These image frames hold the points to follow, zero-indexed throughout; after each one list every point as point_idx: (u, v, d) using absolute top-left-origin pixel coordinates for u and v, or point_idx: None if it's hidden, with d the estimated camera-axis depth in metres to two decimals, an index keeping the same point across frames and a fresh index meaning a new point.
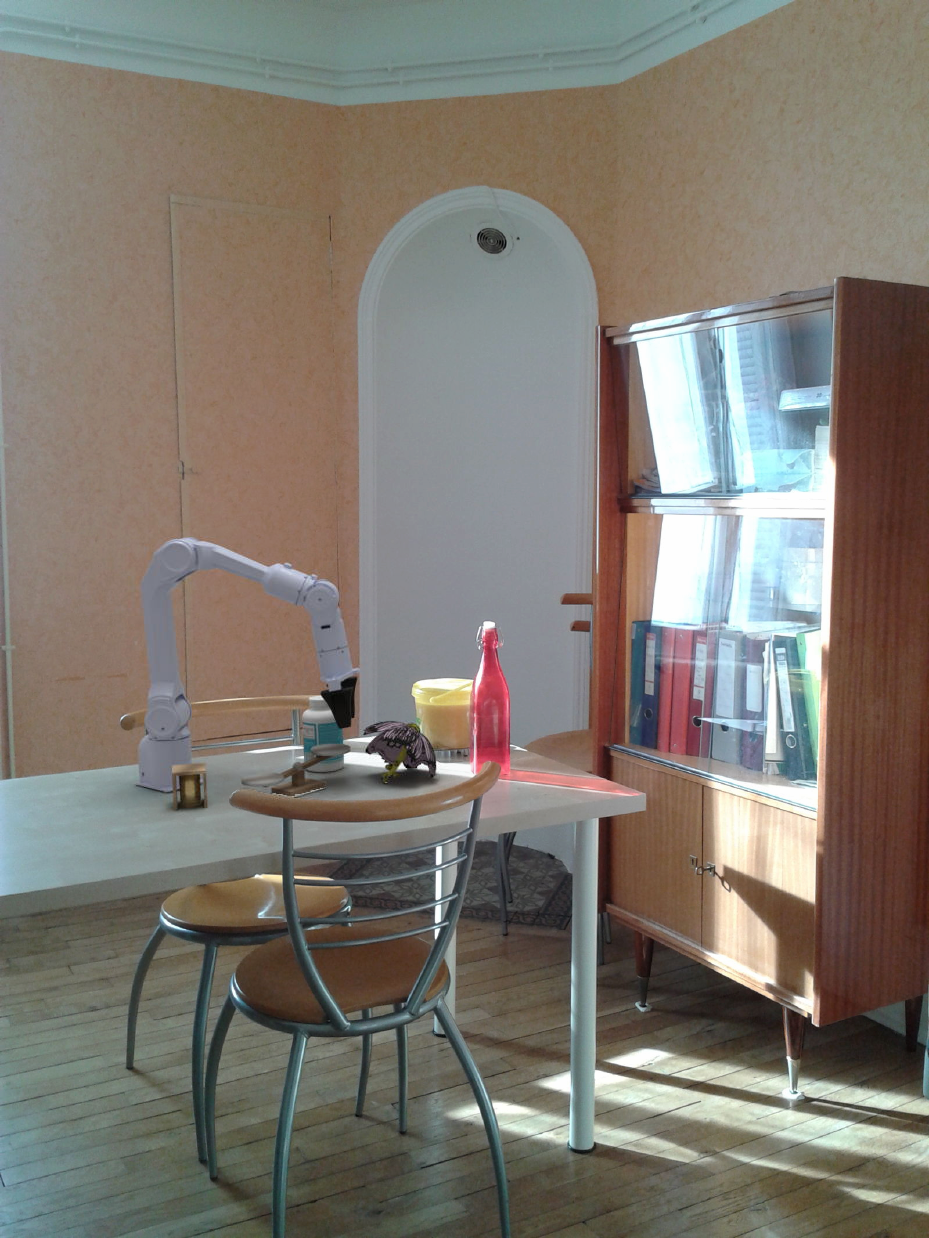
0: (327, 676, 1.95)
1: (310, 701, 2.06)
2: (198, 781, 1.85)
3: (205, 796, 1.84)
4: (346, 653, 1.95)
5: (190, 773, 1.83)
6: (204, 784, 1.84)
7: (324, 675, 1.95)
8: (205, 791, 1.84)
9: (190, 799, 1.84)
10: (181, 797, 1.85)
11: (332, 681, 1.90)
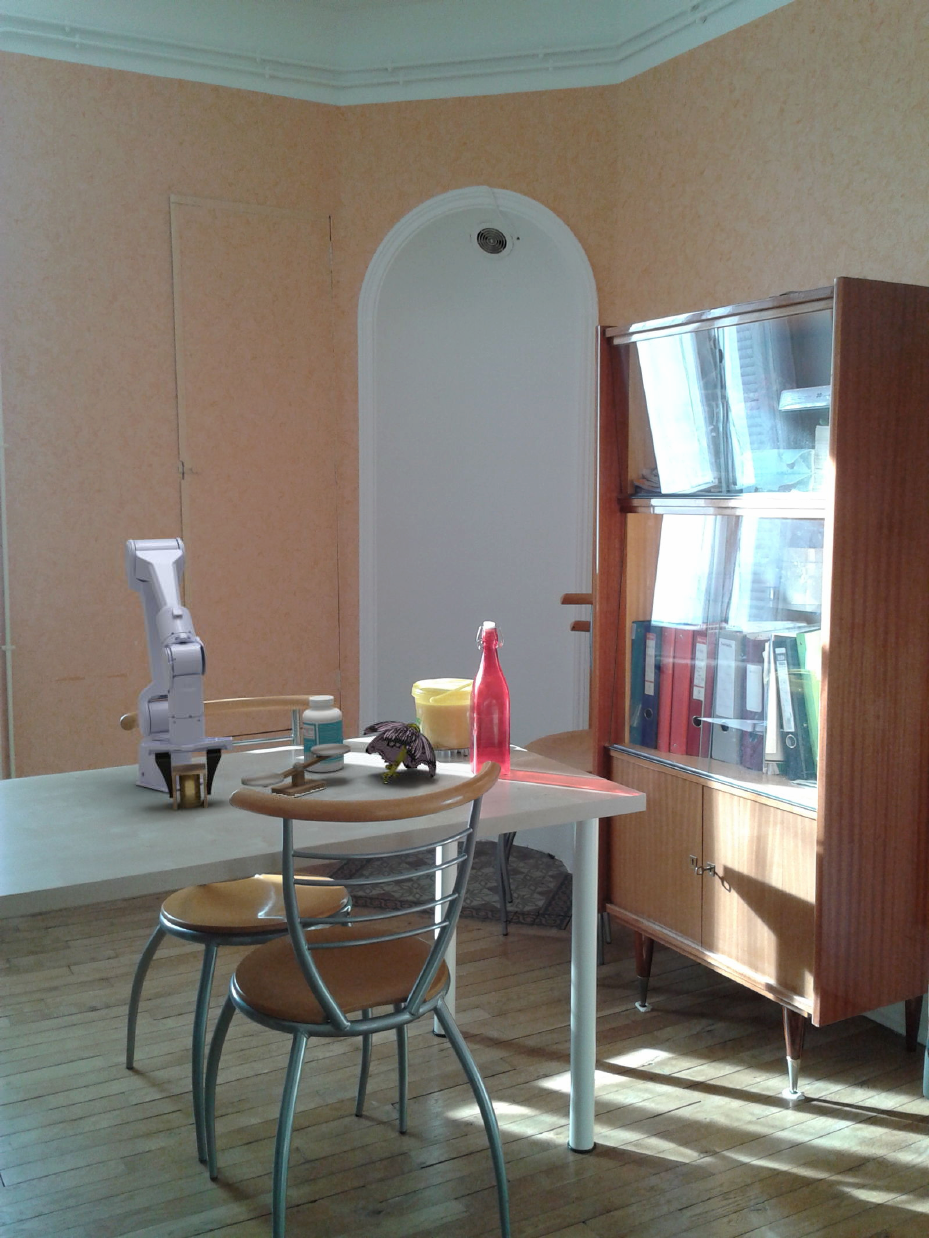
0: None
1: (310, 701, 2.06)
2: (198, 781, 1.85)
3: (205, 796, 1.84)
4: (177, 724, 1.82)
5: (190, 773, 1.83)
6: (204, 784, 1.84)
7: None
8: (205, 791, 1.84)
9: (190, 799, 1.84)
10: (181, 797, 1.85)
11: (142, 745, 1.83)
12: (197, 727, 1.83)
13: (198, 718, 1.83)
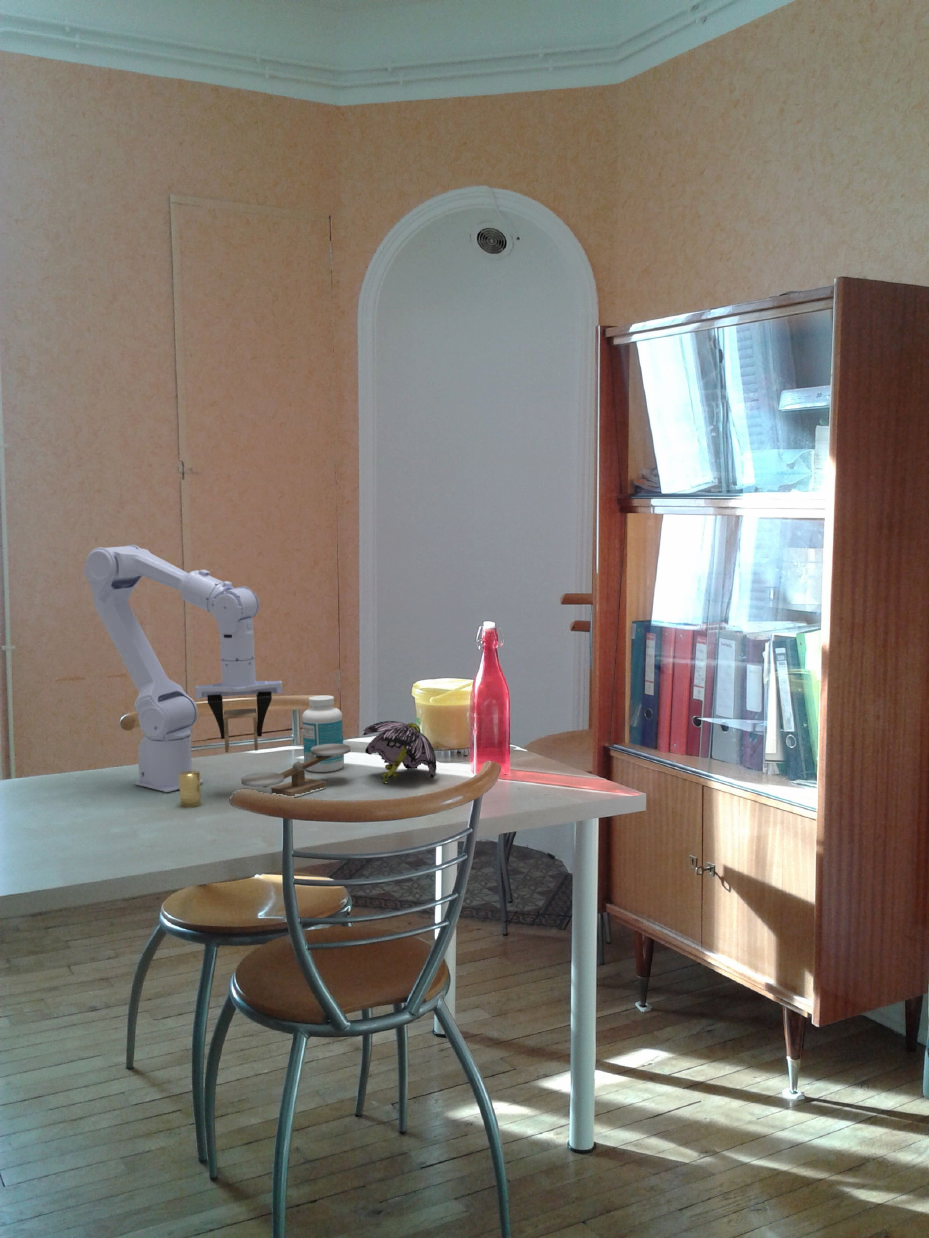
0: None
1: (310, 701, 2.06)
2: (198, 781, 1.85)
3: (255, 739, 1.90)
4: (229, 667, 1.88)
5: (241, 716, 1.89)
6: (254, 727, 1.89)
7: None
8: (255, 734, 1.90)
9: (190, 799, 1.84)
10: (181, 797, 1.85)
11: None
12: (248, 670, 1.89)
13: (249, 661, 1.89)
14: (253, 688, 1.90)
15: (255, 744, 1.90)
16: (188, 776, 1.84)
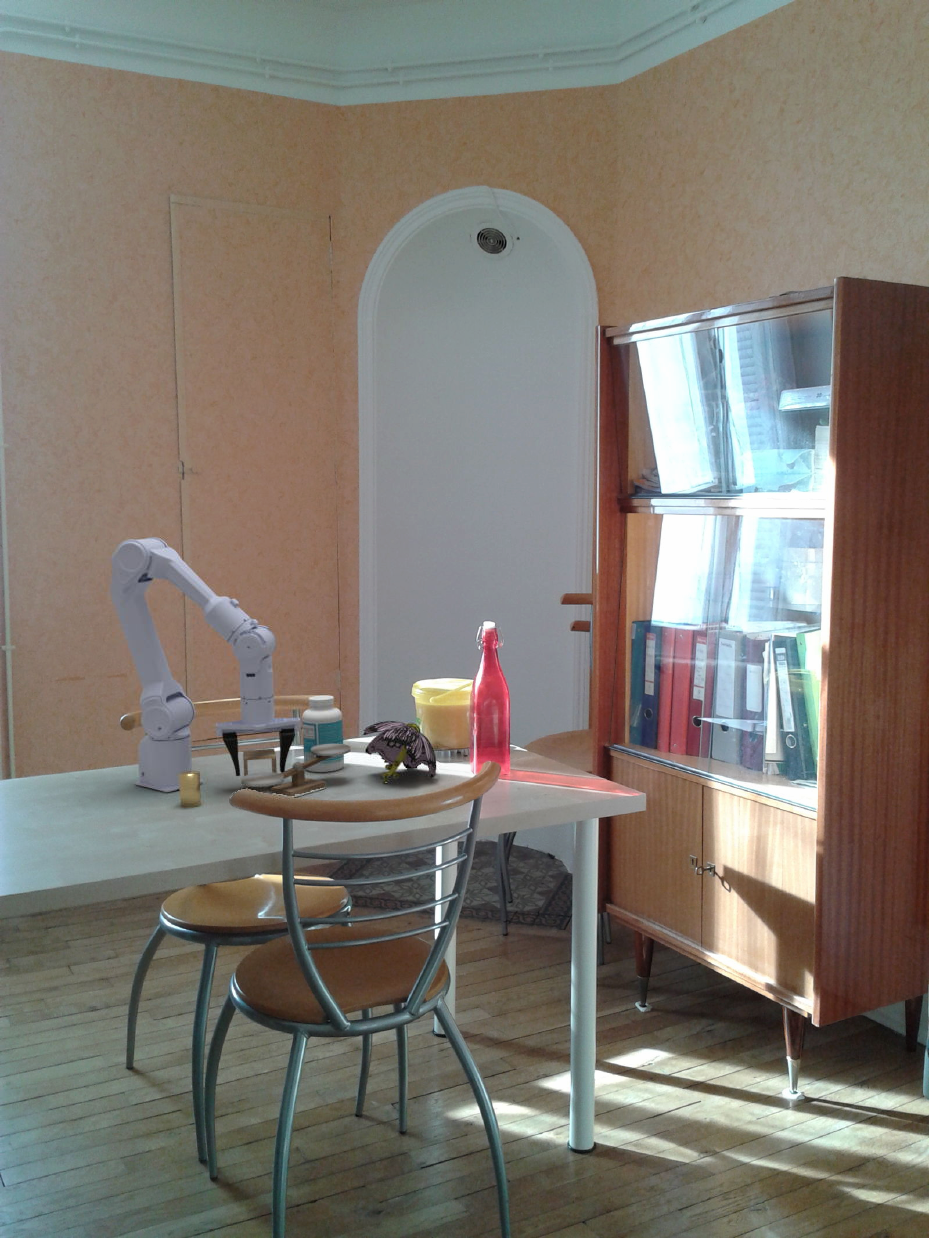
0: None
1: (310, 701, 2.06)
2: (198, 781, 1.85)
3: None
4: (249, 705, 1.92)
5: (261, 758, 1.93)
6: (274, 768, 1.93)
7: None
8: None
9: (190, 799, 1.84)
10: (181, 797, 1.85)
11: None
12: (268, 708, 1.93)
13: (269, 699, 1.93)
14: (272, 726, 1.93)
15: None
16: (188, 776, 1.84)
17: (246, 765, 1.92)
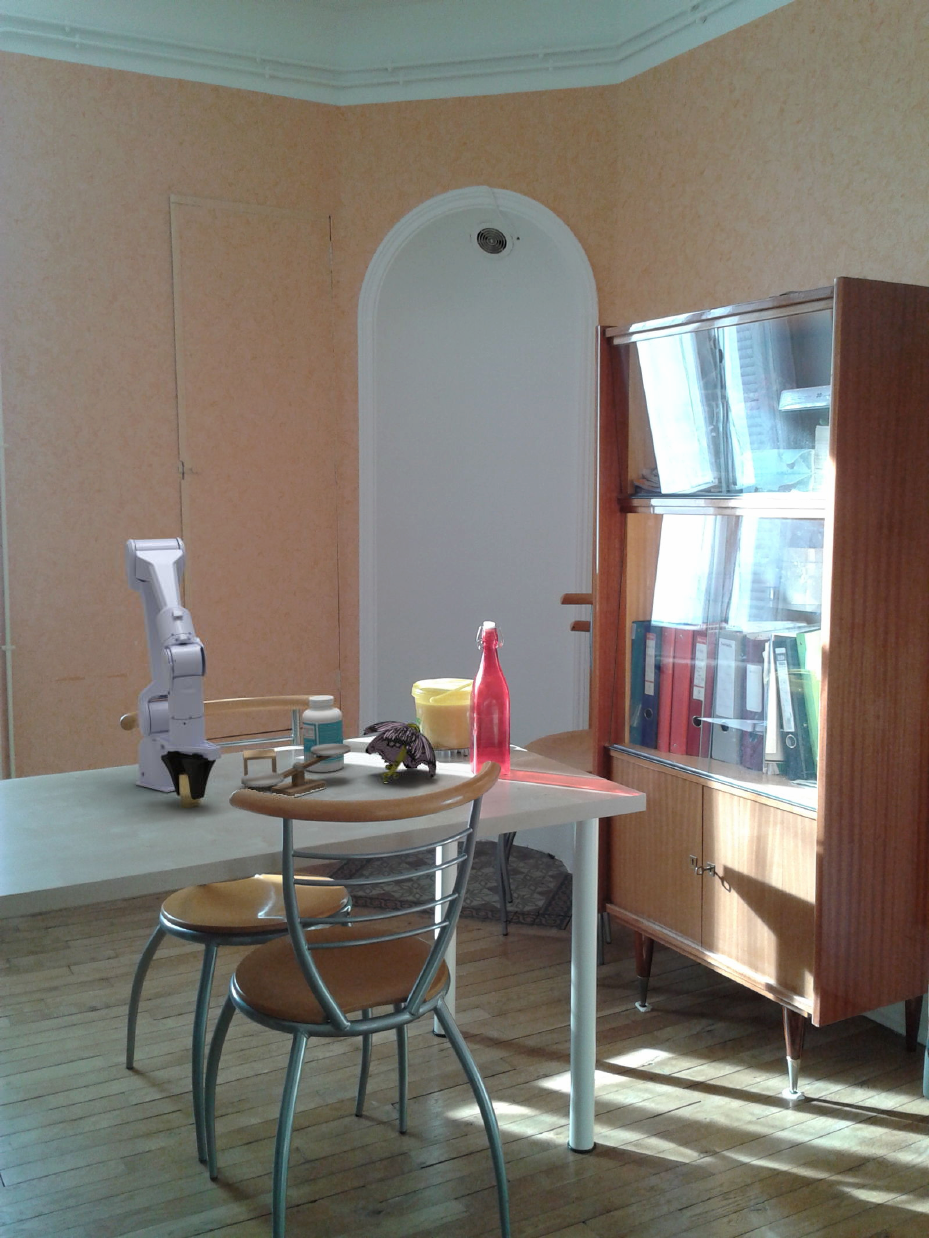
0: None
1: (310, 701, 2.06)
2: None
3: None
4: (169, 724, 1.83)
5: (261, 758, 1.93)
6: (274, 768, 1.93)
7: None
8: None
9: (190, 799, 1.84)
10: (181, 797, 1.85)
11: None
12: (181, 730, 1.82)
13: (183, 721, 1.82)
14: (185, 749, 1.82)
15: None
16: None
17: (246, 765, 1.92)
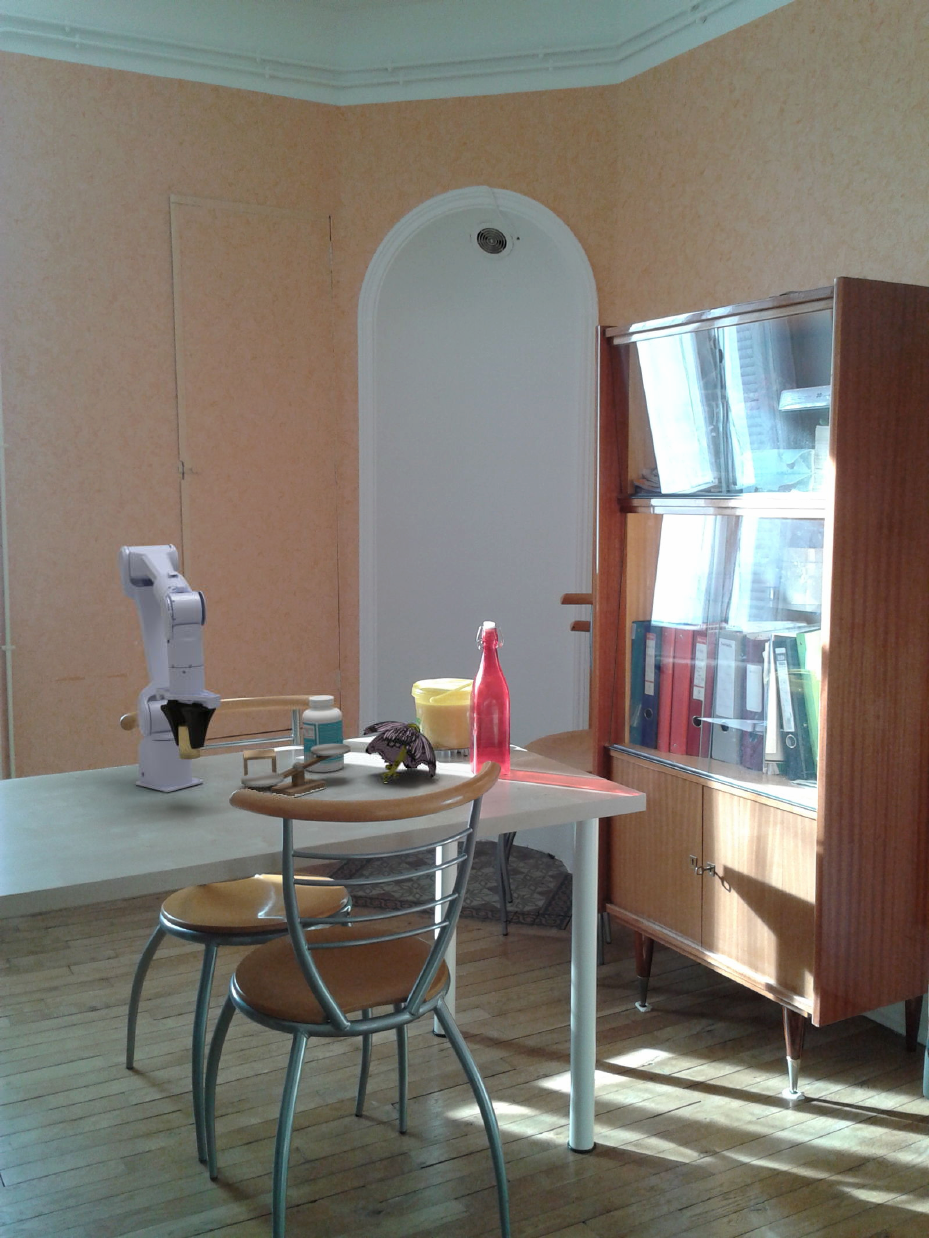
0: None
1: (310, 701, 2.06)
2: None
3: None
4: (168, 672, 1.83)
5: (261, 758, 1.93)
6: (274, 768, 1.93)
7: None
8: None
9: (190, 751, 1.83)
10: (180, 749, 1.84)
11: (161, 689, 1.89)
12: (181, 678, 1.81)
13: (183, 669, 1.81)
14: (184, 698, 1.81)
15: None
16: (187, 728, 1.83)
17: (246, 765, 1.92)
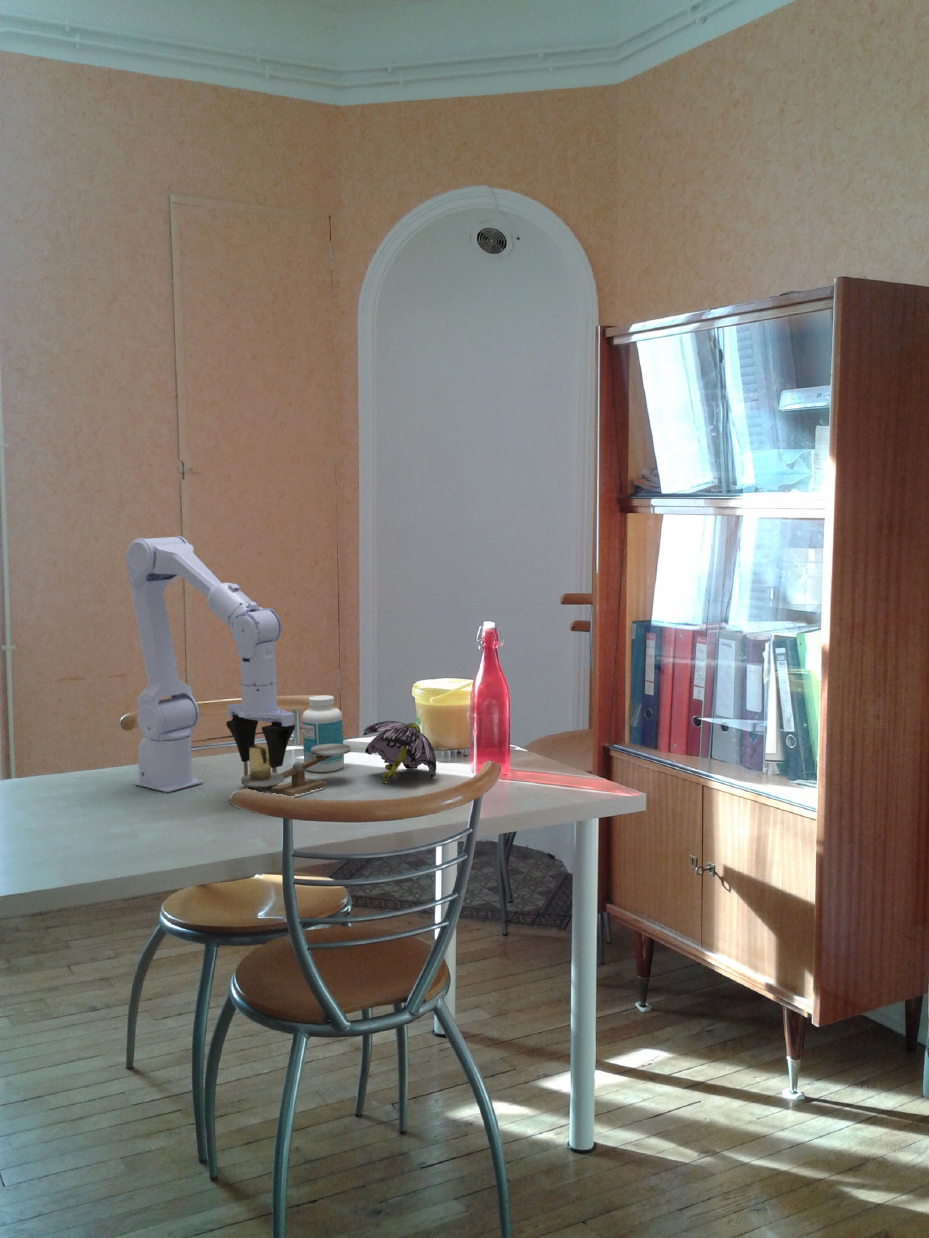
0: None
1: (310, 701, 2.06)
2: (267, 755, 1.85)
3: None
4: (241, 690, 1.84)
5: None
6: (274, 768, 1.93)
7: None
8: None
9: (259, 773, 1.84)
10: (250, 770, 1.85)
11: (231, 706, 1.90)
12: (255, 696, 1.82)
13: (256, 687, 1.82)
14: (258, 716, 1.82)
15: None
16: (257, 749, 1.84)
17: (246, 765, 1.92)
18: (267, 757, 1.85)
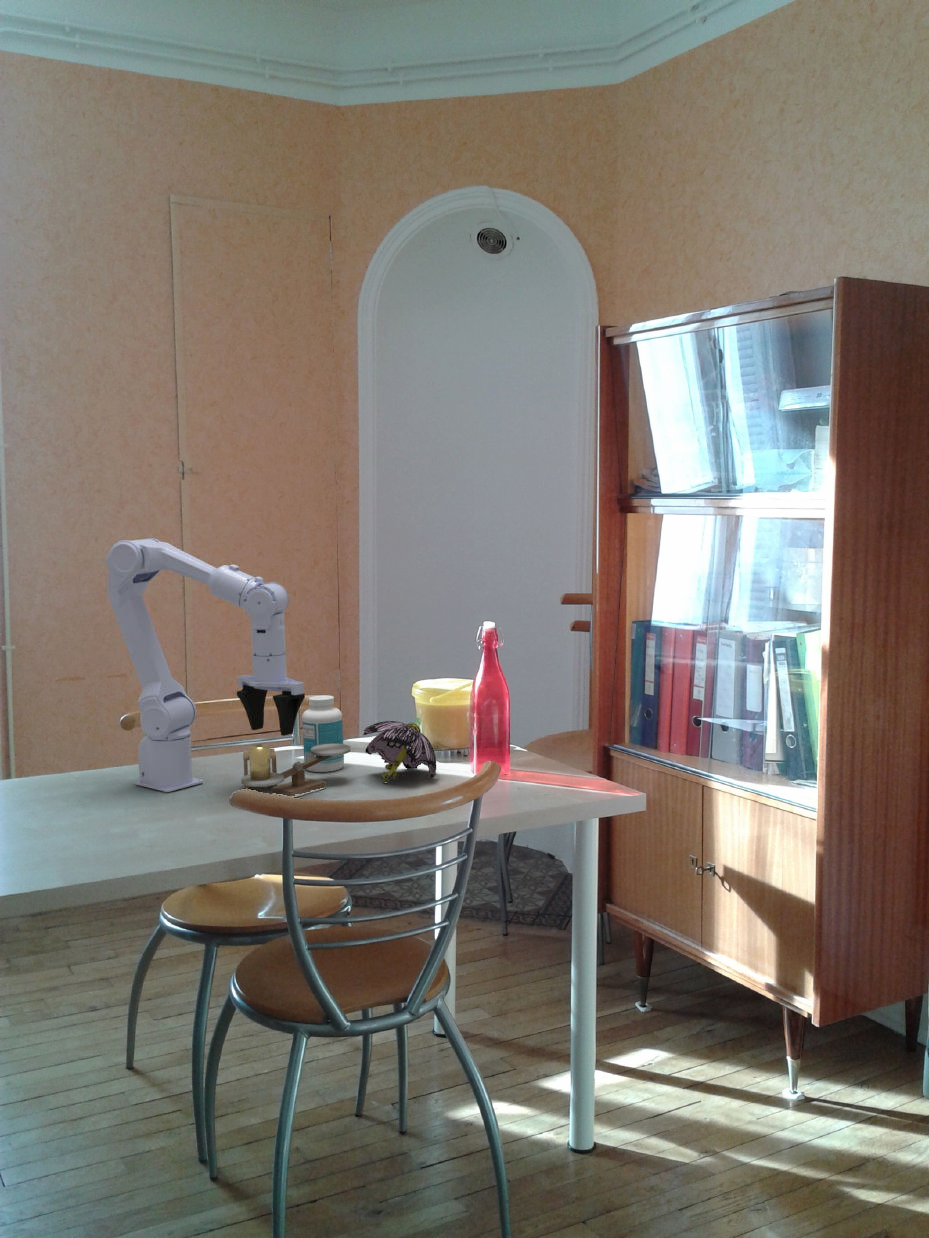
0: None
1: (310, 701, 2.06)
2: (267, 755, 1.85)
3: None
4: (252, 661, 1.90)
5: None
6: (274, 768, 1.93)
7: None
8: None
9: (259, 773, 1.84)
10: (250, 770, 1.85)
11: (242, 677, 1.96)
12: (265, 666, 1.88)
13: (267, 658, 1.88)
14: (268, 685, 1.88)
15: None
16: (257, 749, 1.84)
17: (246, 765, 1.92)
18: (267, 757, 1.85)
